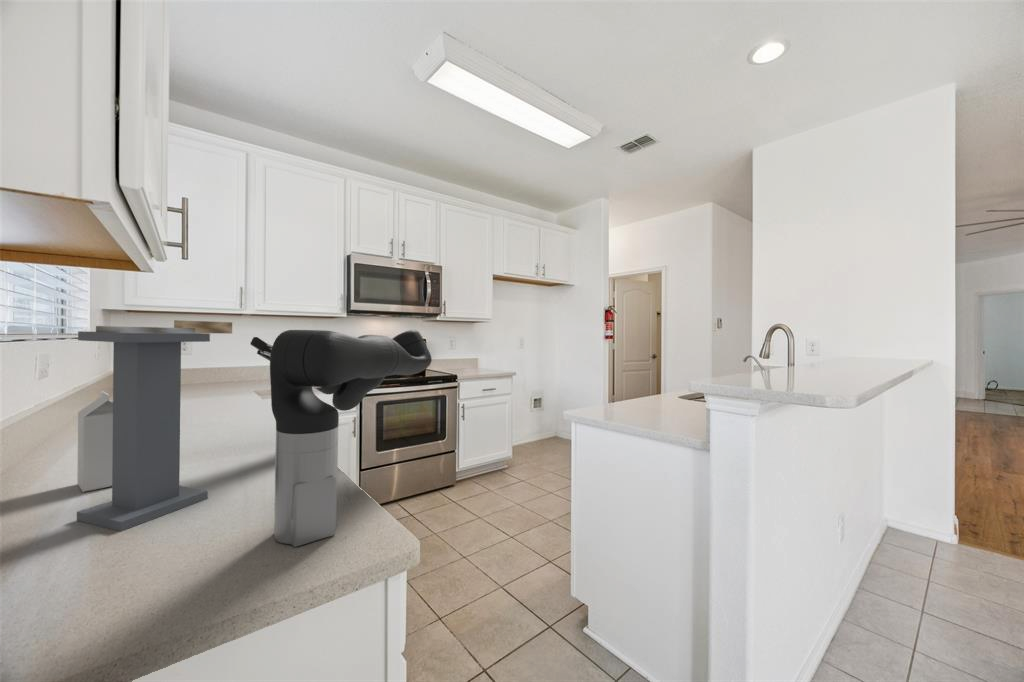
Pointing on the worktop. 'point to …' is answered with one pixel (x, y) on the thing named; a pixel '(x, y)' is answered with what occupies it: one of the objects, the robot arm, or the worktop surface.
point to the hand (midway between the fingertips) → (266, 340)
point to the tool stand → (144, 429)
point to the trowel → (178, 328)
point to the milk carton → (95, 444)
